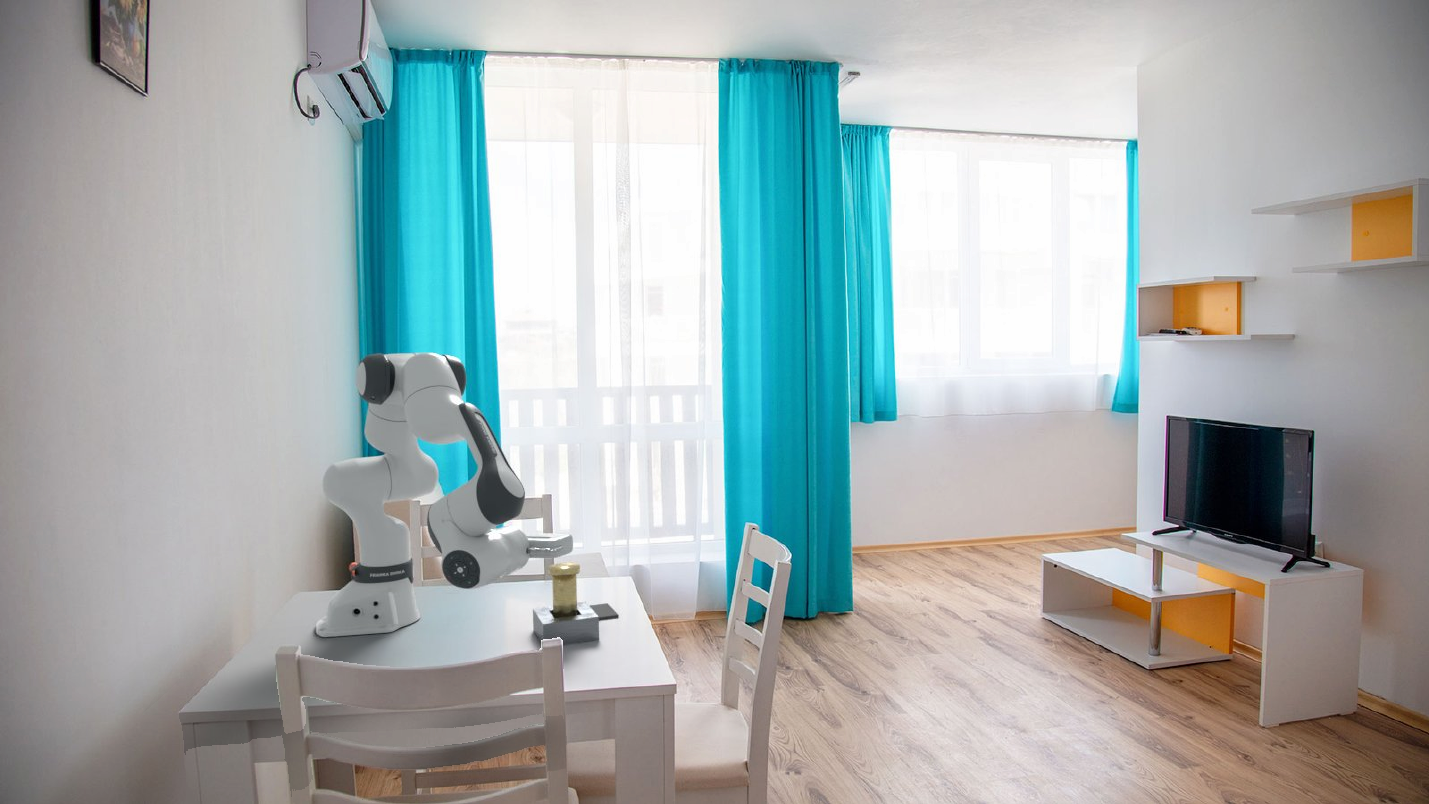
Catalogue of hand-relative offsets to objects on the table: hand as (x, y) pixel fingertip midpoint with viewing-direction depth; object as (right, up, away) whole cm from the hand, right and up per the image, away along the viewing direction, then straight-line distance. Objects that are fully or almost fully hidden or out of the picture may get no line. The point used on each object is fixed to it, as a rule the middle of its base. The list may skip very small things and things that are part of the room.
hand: (538, 536), depth 173 cm
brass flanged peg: (+3, -22, +12) cm, 25 cm away
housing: (+3, -24, +13) cm, 27 cm away
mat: (+7, -23, +27) cm, 36 cm away
